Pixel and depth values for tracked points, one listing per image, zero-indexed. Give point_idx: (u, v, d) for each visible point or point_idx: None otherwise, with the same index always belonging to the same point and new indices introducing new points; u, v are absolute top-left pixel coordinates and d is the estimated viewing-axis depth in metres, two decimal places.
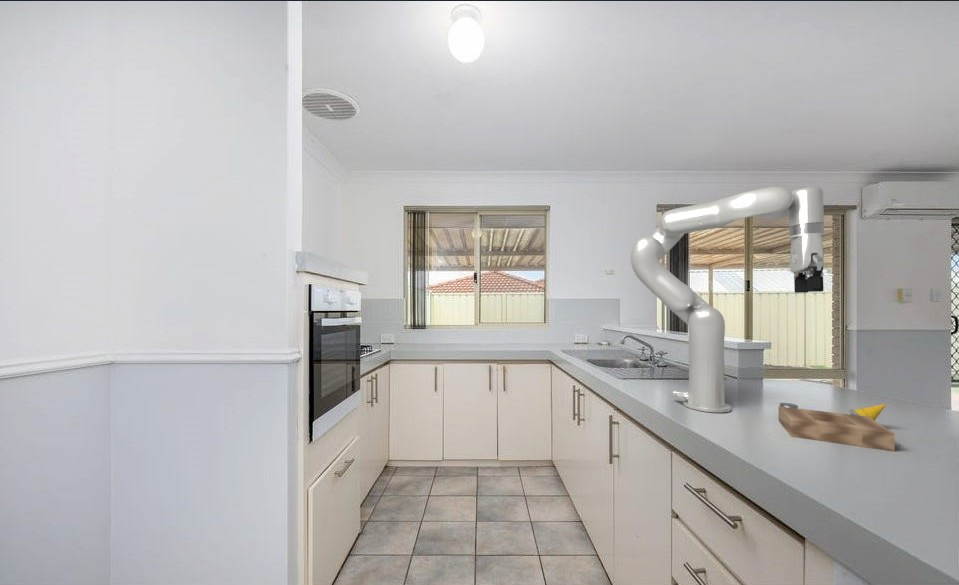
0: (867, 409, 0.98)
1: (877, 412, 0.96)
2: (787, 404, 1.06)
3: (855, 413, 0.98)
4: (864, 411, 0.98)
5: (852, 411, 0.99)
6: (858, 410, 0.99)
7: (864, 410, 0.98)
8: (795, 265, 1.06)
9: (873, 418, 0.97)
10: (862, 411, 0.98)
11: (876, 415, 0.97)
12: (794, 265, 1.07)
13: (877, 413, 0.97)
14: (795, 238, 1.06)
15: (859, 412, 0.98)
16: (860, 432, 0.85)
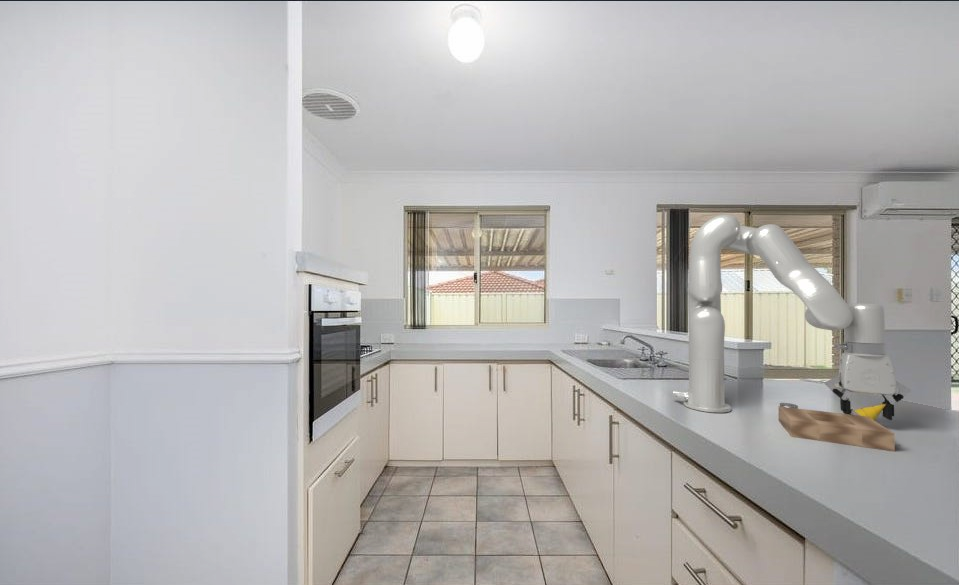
0: (867, 409, 0.98)
1: (877, 412, 0.96)
2: (787, 404, 1.06)
3: (855, 413, 0.98)
4: (864, 411, 0.98)
5: (852, 411, 0.99)
6: (858, 410, 0.99)
7: (864, 410, 0.98)
8: (872, 387, 0.96)
9: (873, 418, 0.97)
10: (862, 411, 0.98)
11: (876, 415, 0.97)
12: (868, 386, 0.97)
13: (877, 413, 0.97)
14: (871, 357, 0.96)
15: (859, 412, 0.98)
16: (860, 432, 0.85)
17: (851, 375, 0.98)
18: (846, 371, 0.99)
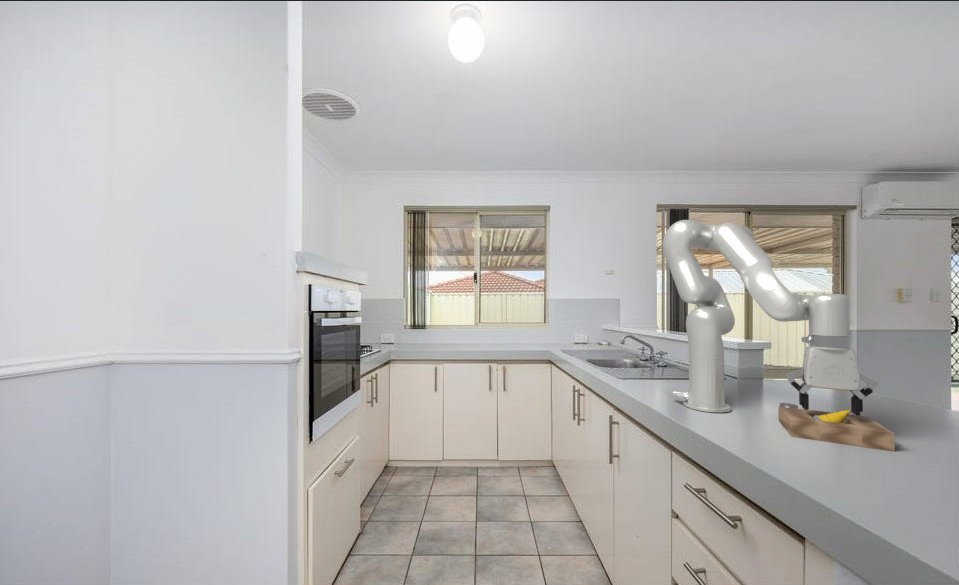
0: (831, 415, 0.92)
1: (841, 418, 0.91)
2: (787, 404, 1.06)
3: (818, 419, 0.93)
4: (828, 417, 0.92)
5: (816, 417, 0.94)
6: (822, 416, 0.93)
7: (828, 416, 0.92)
8: (835, 382, 0.91)
9: None
10: (826, 417, 0.92)
11: (840, 421, 0.91)
12: (831, 382, 0.91)
13: (841, 419, 0.91)
14: (835, 350, 0.91)
15: (823, 418, 0.93)
16: (860, 432, 0.85)
17: (814, 370, 0.93)
18: (809, 366, 0.93)
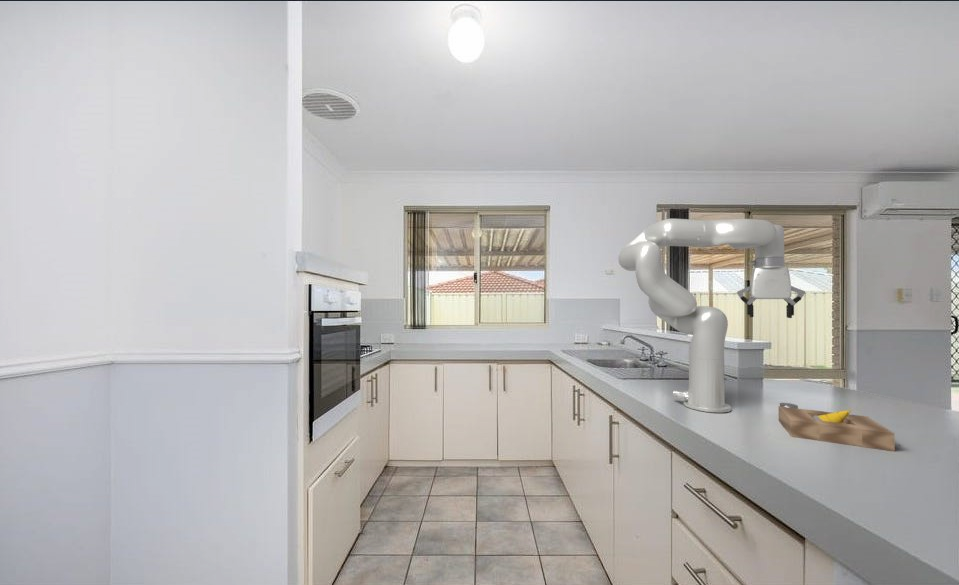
0: (831, 415, 0.92)
1: (841, 418, 0.91)
2: (787, 404, 1.06)
3: (818, 419, 0.93)
4: (828, 418, 0.92)
5: (816, 417, 0.94)
6: (822, 416, 0.93)
7: (828, 416, 0.92)
8: (773, 293, 1.16)
9: None
10: (826, 417, 0.92)
11: (840, 421, 0.91)
12: (770, 293, 1.17)
13: (841, 419, 0.91)
14: (773, 268, 1.16)
15: (823, 418, 0.93)
16: (860, 432, 0.85)
17: (757, 285, 1.18)
18: (753, 282, 1.19)
